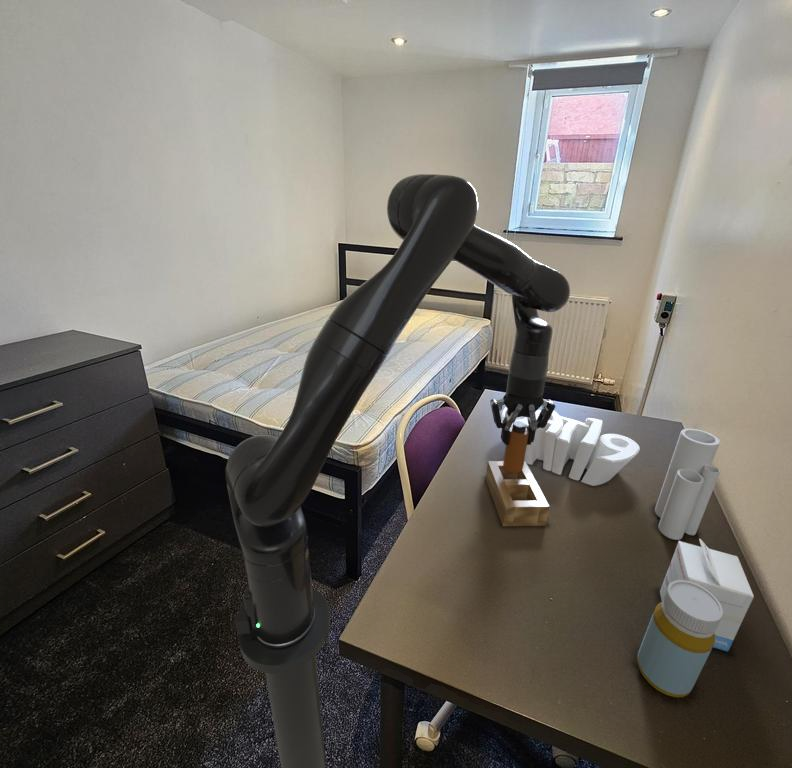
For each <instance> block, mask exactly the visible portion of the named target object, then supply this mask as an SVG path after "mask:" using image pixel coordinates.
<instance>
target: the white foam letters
mask: <svg viewBox="0 0 792 768" xmlns="http://www.w3.org/2000/svg"><path fill="white" fill-rule="evenodd" d="M506 410H507V407H506V406H505V407H504V408H503V409H502V412H501V419H502V420H503V419H504V417H505V412H506ZM541 410H542V409H538V410H537V411H536V412H535V415H536V420H537V418H538V416H539V414H540V412H541ZM515 421H521V422H524V423H525V424H526V428H527V426H529V424H528V420H527V417H523V416H522V417H517V418H516V420H515ZM512 426H513V424H512ZM602 427H603V420H602V419H599V418H593V417H587V418H586V419H585V421H584V422H583V421H580V420H576V419H574V418H569V417H566V416H562V415H560V414H559V413H558V412H557V411H556V410H554V411H553V413H552V415H551V417H550V418H549V420H548V422H547V424H546V426H545V428H538V429H537V430H536V432H535V438H534V441H533V442H531V445H527V447H526V453H525V459H524V461H526V463H527V465H530V466H533V465H534V462H535V461H536V460H539V461H543V463H542V469H543V470H545V471H548V472H552V473H553V474H556V475H559V476H562V473H563V469H564V467H565V465H566V464H567V462H568V461H569V460H573V463H572V466H571V468H570V471H569V474H568V478H569V479H571V480H575V481H580V482H581V483H583V484H586V485H589V486H593V487H595V486H600V485H603V484H606V483H608V482H609V481H610V480H612V479H613V478H614V477H615V476H616V475H617V474H618V473H619V472H620V471H621V470H622V469H623V468H624V467H626V465H628V463H629V462H631V460H633V459H634V458H635V457H636V455H637V454H639V452H640V446H639V444H638V443H637V442H636V441H635V440H633V439H631V438H630V437H627V436H624V435H622V434H618V433H605V434H602V435H601V432H602ZM585 469H586V472H585V473H584V471H585ZM583 473H584V476H582V475H583ZM581 477H582V480H581Z"/></svg>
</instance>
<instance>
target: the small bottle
mask: <svg viewBox="0 0 792 768" xmlns="http://www.w3.org/2000/svg"><path fill="white" fill-rule="evenodd" d="M528 435H529V430H528V429H527V428H526V424H525V423H524V422H521V421H515V422H514V423H513V426H511V428H510V438H509V444H508V445H505V450H504V455H503V456H504V457H503V461H504V463H503V466H504V468H505V469H506V470H508V471H511V472H520V471H521V470H522V469H523V465H524V459H525V453H526V447H527V441H528Z"/></svg>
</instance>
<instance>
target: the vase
mask: <svg viewBox="0 0 792 768" xmlns="http://www.w3.org/2000/svg"><path fill="white" fill-rule="evenodd" d="M720 443H721V441H720V439H719V438H718V437H717V436H716V435H714V434H712V433H710V432H708V431H705V430H701V429H697V428H683V429H682V430H680V433H679V435H678V439H677V441H676V444H675V448H674V450H673V453H672V456H671V460H670V462H669V466H668V469H667V472H666V475H665V477H664V481H663V484H662V486H661V490H660V493H659V496H658V498H657V502H656V504H655V508H654V513H655V514H656V516H657V517H658V518H660V519H659V523H658V530H659V532H660V533H661V534H662V535H663V536H664V537H666V538H668V539H670V540H675V541H676V540H677V541H681V540H682V539H683V537H684V534H687V535H688V536H695V535H696V534H697V532H698V529H699V527H700V524H701V521H702V519H703V517H704V514H705V511H706V509H707V507H708V504H709V502H710V499H711V497H712V494H713V492H714V489H715V487H716V484H717V481H718V479H719V477H720V474H721V469H720V468H718V466H716V465H713V462H714V459H715V456H716V454H717V452H718V449H719V446H720Z"/></svg>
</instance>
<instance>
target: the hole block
mask: <svg viewBox="0 0 792 768" xmlns="http://www.w3.org/2000/svg"><path fill="white" fill-rule="evenodd" d="M503 463H504V460H487V463H486V465H487V466H486V472H485V480H486V484H487V486H488V489H489V491H490V495H491V497H492V500H493V503H494V506H495V508H496V511H497V514H498V517H499V521H500V522H501V525H502V527H538V526H539V527H541V526H542V527H543V526H547V522H548V518H549V512H550V506H551V505H550V504H549V502H548V500H547V498H546V496H545V495H544V493H543V491H542V489H541V487H540V485H539V484H538V482H537V480H536V478H535V476H534V474H533V473H532V471H531V468H530V467H529V464H527V463H526V461H524V465H523V469H522V470H521V471H520V472H511V471H508V470H506V469H505V468H504V466H503Z"/></svg>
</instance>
